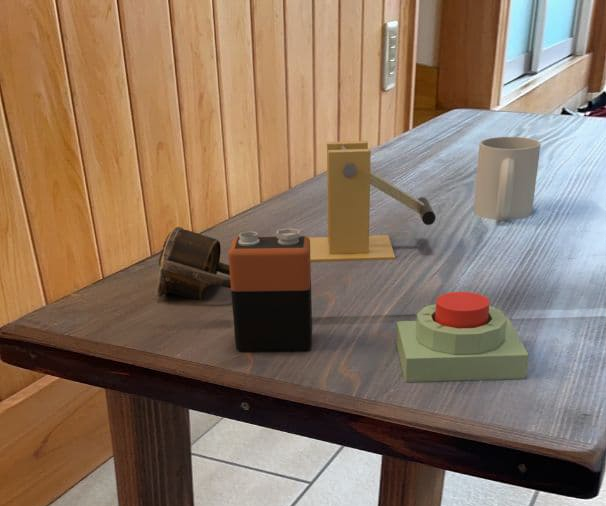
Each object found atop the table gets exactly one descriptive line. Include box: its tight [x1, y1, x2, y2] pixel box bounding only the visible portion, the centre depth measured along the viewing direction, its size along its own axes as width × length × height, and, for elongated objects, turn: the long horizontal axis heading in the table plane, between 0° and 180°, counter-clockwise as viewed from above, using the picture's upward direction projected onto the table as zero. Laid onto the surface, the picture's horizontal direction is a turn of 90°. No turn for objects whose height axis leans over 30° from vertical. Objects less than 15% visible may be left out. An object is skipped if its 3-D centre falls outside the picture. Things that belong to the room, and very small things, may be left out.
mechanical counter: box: [154, 226, 231, 301], centre depth 85 cm, size 7×13×10 cm
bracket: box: [308, 140, 396, 263], centre depth 94 cm, size 10×8×12 cm
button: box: [435, 291, 491, 329], centre depth 71 cm, size 4×4×2 cm
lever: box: [340, 145, 436, 226], centre depth 93 cm, size 12×6×2 cm
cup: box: [473, 136, 542, 221], centre depth 104 cm, size 7×10×9 cm
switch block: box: [395, 303, 530, 383], centre depth 73 cm, size 10×8×4 cm
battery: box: [228, 227, 313, 353], centre depth 75 cm, size 4×7×10 cm, turn 88°
